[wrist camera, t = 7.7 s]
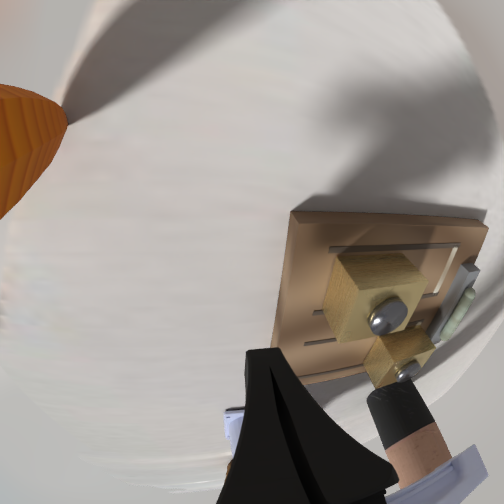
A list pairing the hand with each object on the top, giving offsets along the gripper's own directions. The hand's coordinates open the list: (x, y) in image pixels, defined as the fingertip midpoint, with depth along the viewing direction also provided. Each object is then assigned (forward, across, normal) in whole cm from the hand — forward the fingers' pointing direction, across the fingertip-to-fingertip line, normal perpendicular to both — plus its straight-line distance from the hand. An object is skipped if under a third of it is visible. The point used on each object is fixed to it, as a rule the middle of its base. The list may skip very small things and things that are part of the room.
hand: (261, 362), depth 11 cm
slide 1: (+5, -8, 0) cm, 9 cm away
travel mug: (+7, -22, +23) cm, 32 cm away
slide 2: (+5, -14, +8) cm, 17 cm away
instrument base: (+6, -12, +4) cm, 14 cm away
